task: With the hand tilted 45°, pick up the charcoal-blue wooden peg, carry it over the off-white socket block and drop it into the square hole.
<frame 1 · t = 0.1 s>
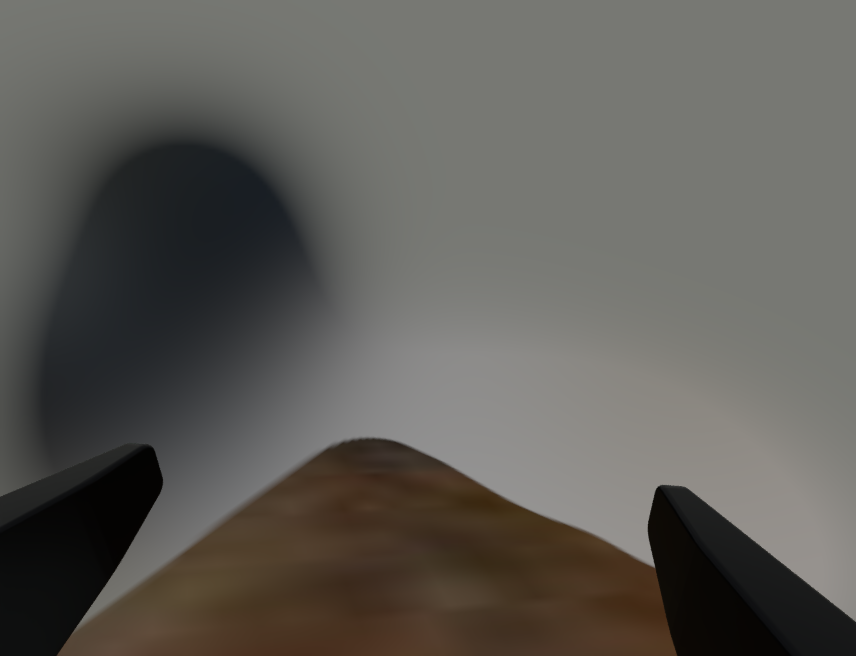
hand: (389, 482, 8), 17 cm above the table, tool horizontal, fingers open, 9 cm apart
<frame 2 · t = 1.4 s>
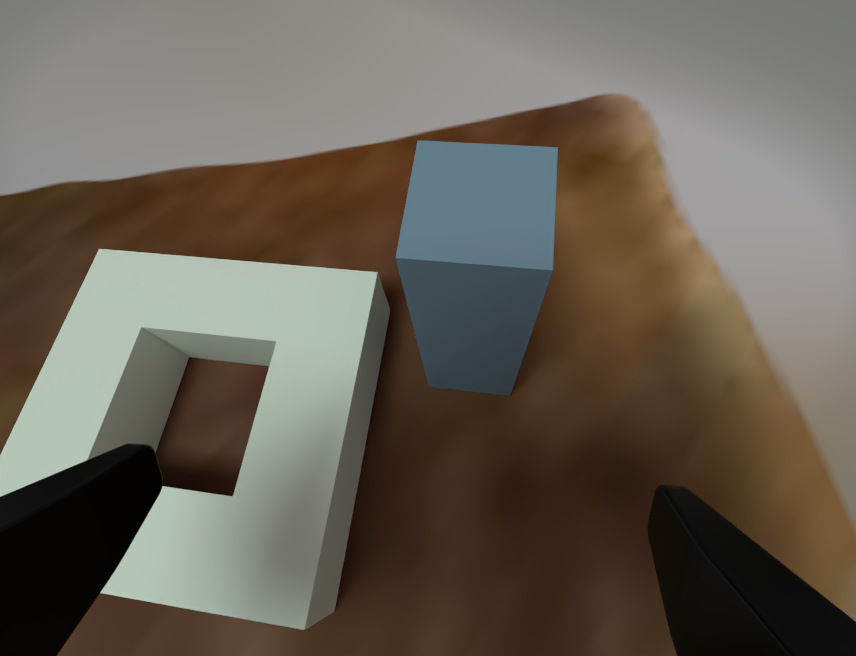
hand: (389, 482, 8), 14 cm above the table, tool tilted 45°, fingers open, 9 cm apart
socket block: (227, 424, 23), on the table
peg: (472, 353, 24), on the table
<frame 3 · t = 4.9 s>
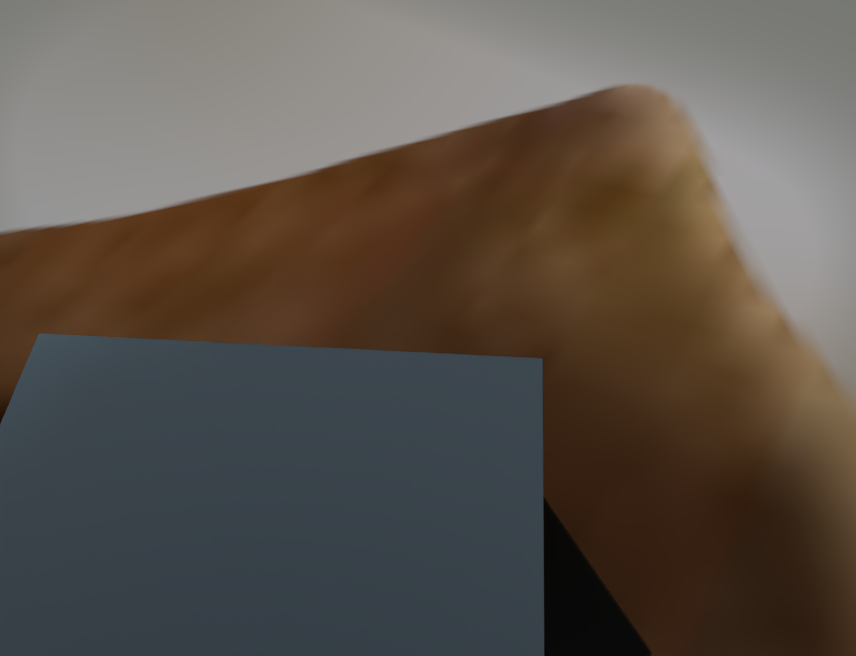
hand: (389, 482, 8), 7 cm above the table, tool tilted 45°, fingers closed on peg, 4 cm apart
peg: (423, 548, 14), on the table, touching gripper
when the fingers open (9 cm above the table, at t = 9.5 s): peg drops 2 cm, resting in socket block.
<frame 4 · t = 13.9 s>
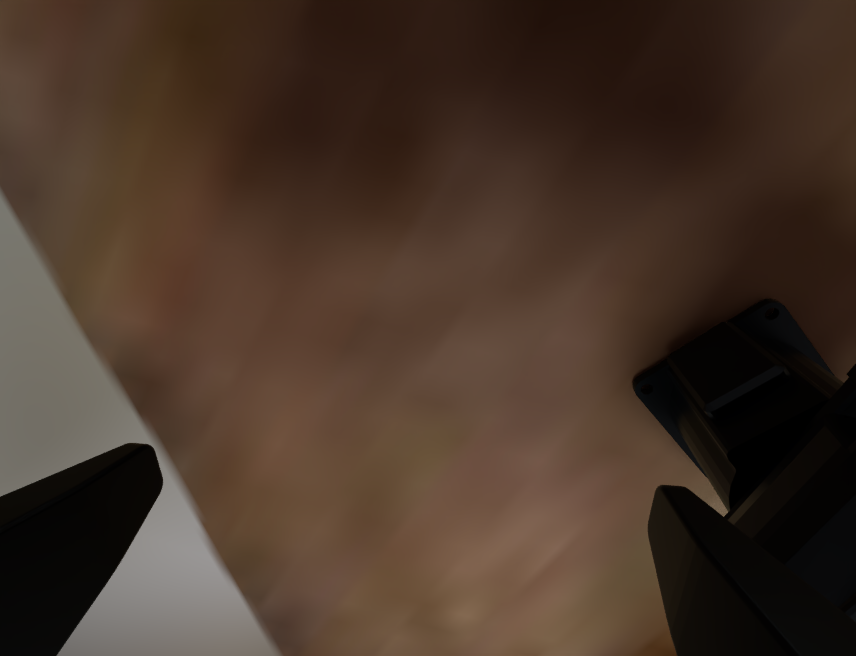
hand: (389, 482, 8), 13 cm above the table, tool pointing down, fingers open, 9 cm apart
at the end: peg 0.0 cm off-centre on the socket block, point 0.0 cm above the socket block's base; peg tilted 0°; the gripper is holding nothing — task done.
